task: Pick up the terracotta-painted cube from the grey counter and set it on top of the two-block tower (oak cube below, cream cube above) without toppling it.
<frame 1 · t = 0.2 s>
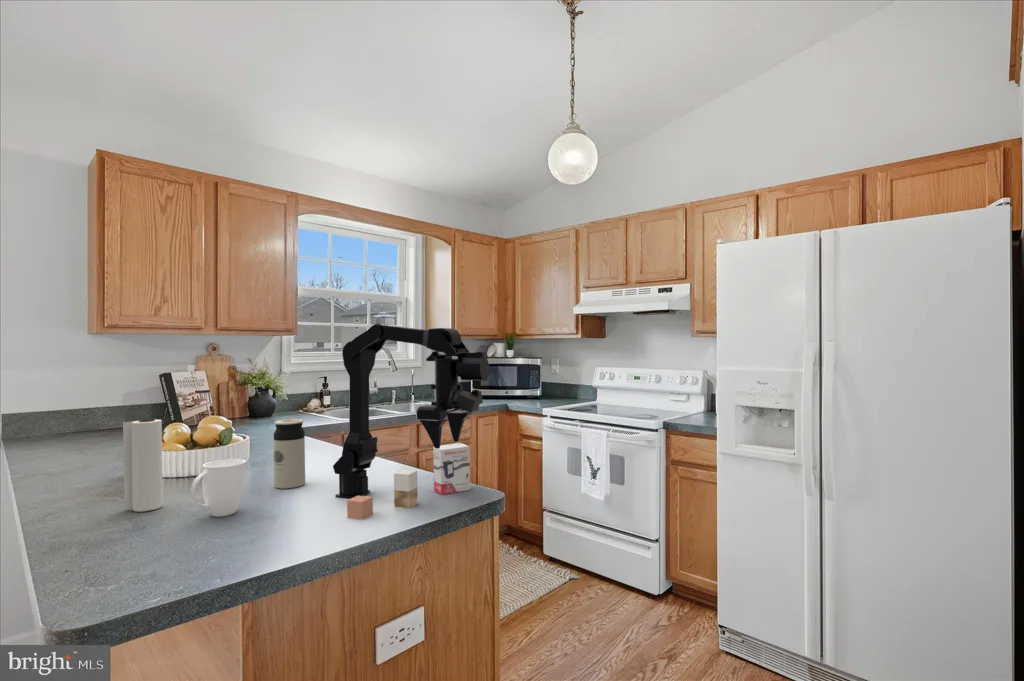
hand: (447, 444, 129), 14 cm above the worktop, fingers open, 9 cm apart
cream block: (405, 488, 129), point 4 cm above the worktop, touching oak block
terracotta block: (360, 516, 121), on the worktop
mug: (219, 516, 123), on the worktop
oak block: (406, 505, 129), on the worktop, touching cream block
ink box: (452, 491, 141), on the worktop
travel mug: (289, 486, 149), on the worktop
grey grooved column: (146, 509, 130), on the worktop
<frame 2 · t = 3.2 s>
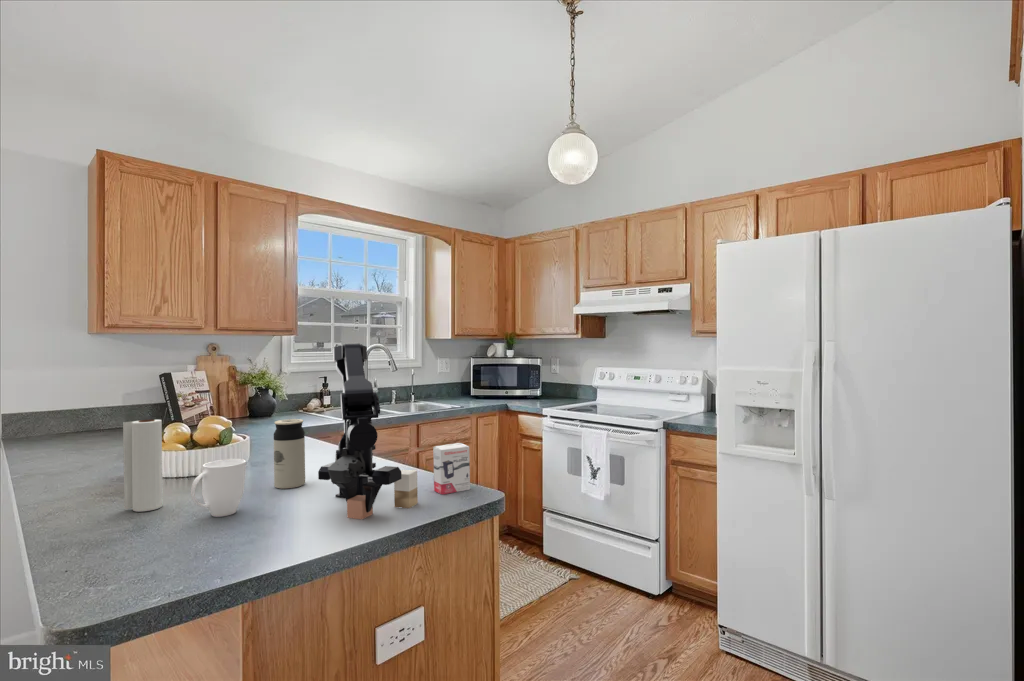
hand: (360, 511, 121), 1 cm above the worktop, fingers closed on terracotta block, 4 cm apart
terracotta block: (360, 515, 121), on the worktop, touching gripper
everything else where it was.
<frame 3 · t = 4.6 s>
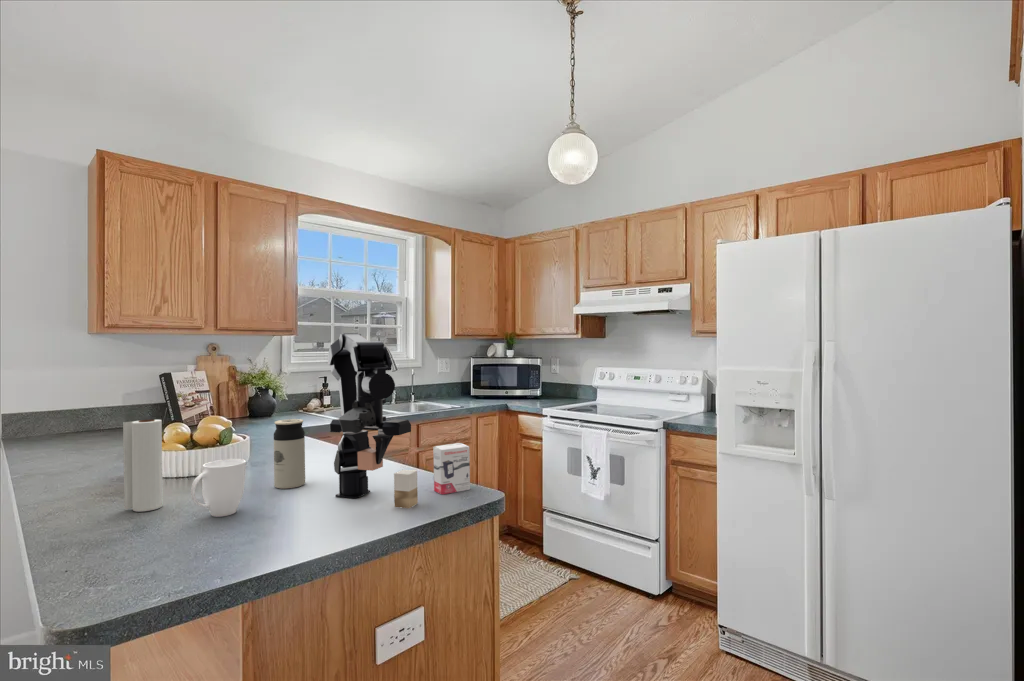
hand: (370, 463, 123), 11 cm above the worktop, fingers closed on terracotta block, 4 cm apart
terracotta block: (370, 468, 123), point 10 cm above the worktop, touching gripper
everything else where it was.
when the fingers open (10 cm above the worktop, at t = 6.1 s): terracotta block stays where it is, resting on cream block.
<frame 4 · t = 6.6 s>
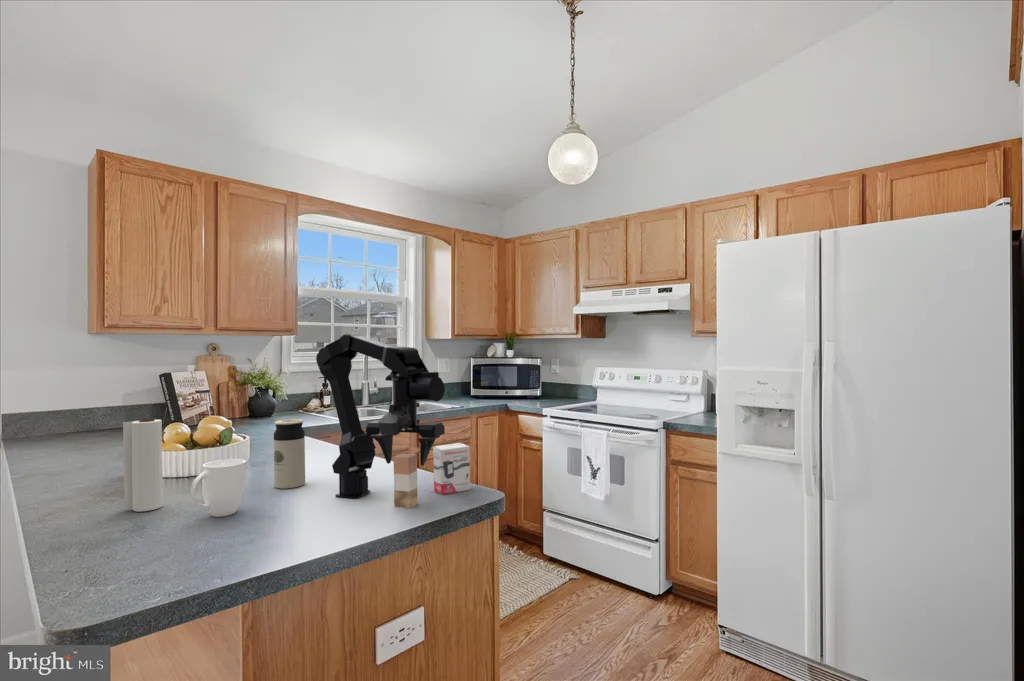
hand: (405, 464, 129), 10 cm above the worktop, fingers open, 9 cm apart
cream block: (405, 488, 129), point 4 cm above the worktop, touching oak block, terracotta block
terracotta block: (405, 472, 129), point 8 cm above the worktop, touching cream block
everything else where it was.
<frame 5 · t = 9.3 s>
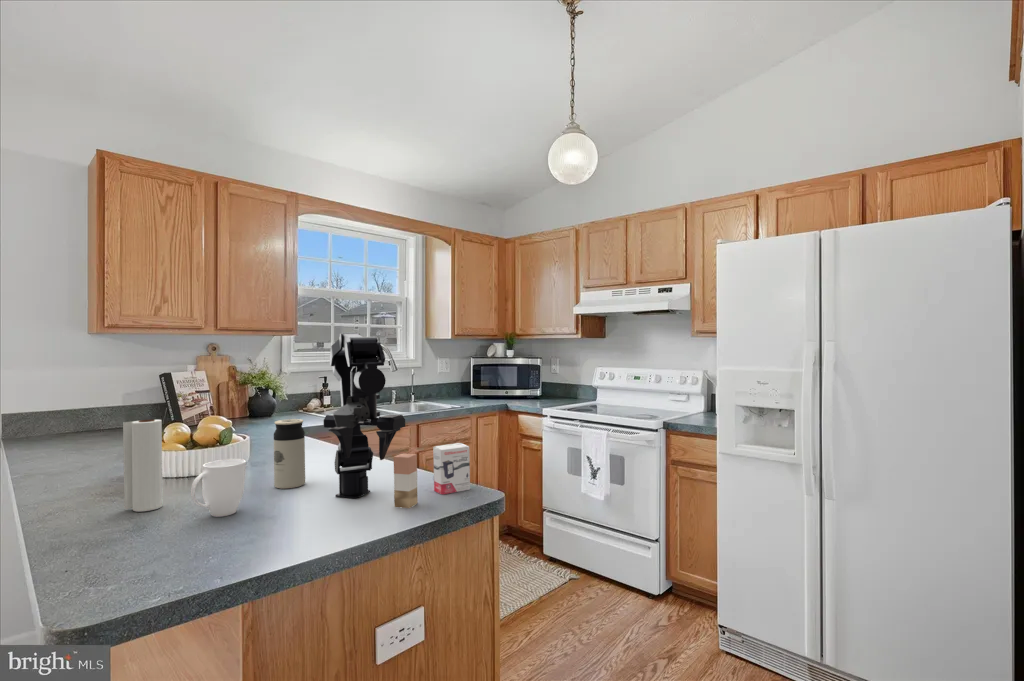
hand: (364, 458, 123), 12 cm above the worktop, fingers open, 9 cm apart
nothing on the worktop moved.
at the end: terracotta block 0.0 cm off-centre on the oak block, point 8.0 cm above the oak block's base; cream block 0.0 cm off-centre on the oak block, point 4.0 cm above the oak block's base; terracotta block tilted 0° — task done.
